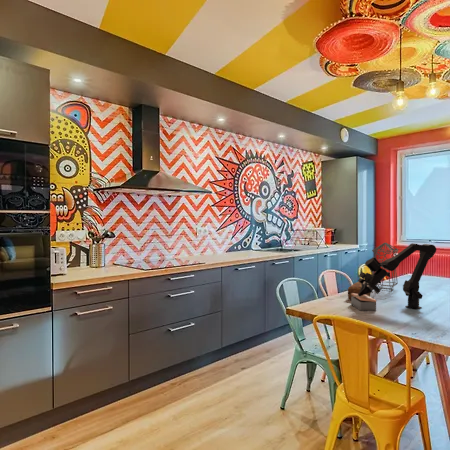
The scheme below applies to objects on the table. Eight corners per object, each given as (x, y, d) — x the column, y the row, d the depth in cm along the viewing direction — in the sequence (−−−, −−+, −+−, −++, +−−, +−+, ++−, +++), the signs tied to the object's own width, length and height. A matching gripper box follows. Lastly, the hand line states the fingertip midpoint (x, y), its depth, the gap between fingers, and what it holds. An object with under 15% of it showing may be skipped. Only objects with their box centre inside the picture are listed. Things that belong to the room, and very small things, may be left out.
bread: (355, 294, 240) (355, 280, 239) (371, 297, 233) (372, 282, 233) (346, 300, 225) (347, 284, 225) (363, 302, 218) (364, 286, 218)
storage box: (365, 304, 212) (365, 296, 212) (376, 310, 198) (376, 302, 198) (351, 304, 212) (351, 296, 212) (360, 310, 198) (360, 302, 198)
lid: (365, 296, 212) (366, 294, 212) (376, 302, 198) (376, 300, 198) (351, 294, 212) (351, 293, 212) (360, 300, 198) (360, 298, 198)
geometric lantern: (394, 293, 245) (393, 243, 244) (371, 290, 255) (370, 243, 254) (400, 289, 257) (399, 242, 256) (378, 287, 267) (377, 241, 266)
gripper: (361, 265, 214) (343, 282, 214) (374, 269, 196) (355, 289, 196) (374, 277, 214) (356, 295, 215) (388, 283, 196) (368, 303, 196)
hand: (358, 295), depth 205 cm, fingers closed, pressing on lid
